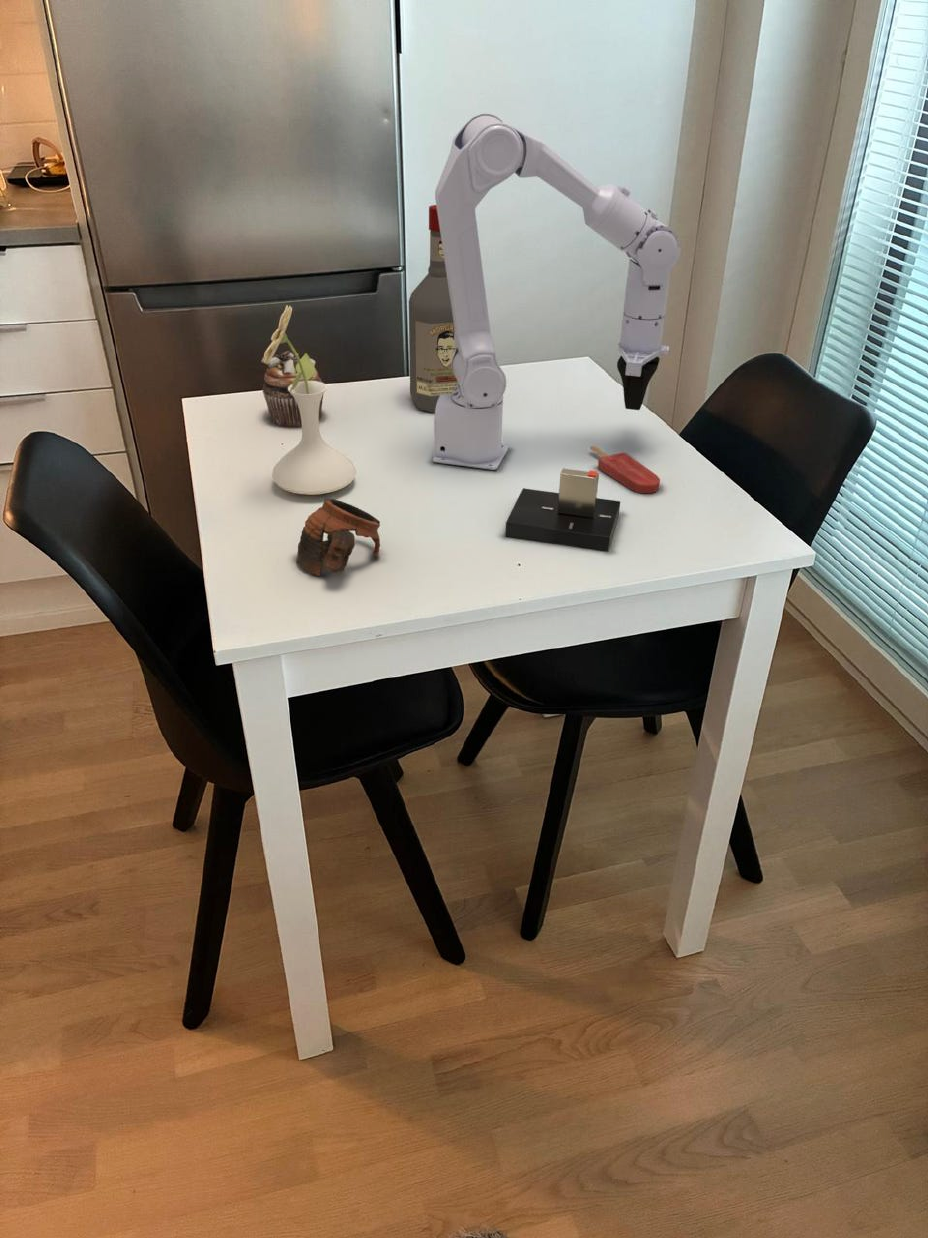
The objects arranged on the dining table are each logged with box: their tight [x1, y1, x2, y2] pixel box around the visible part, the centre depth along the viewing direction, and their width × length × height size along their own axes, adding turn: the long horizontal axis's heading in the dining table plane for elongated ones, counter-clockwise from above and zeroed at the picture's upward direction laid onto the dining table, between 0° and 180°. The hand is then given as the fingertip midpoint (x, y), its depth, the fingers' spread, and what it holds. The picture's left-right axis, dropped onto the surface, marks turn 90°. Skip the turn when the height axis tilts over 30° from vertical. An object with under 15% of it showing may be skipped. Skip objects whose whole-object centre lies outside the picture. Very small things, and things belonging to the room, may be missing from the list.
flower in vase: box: [261, 304, 357, 496], centre depth 123 cm, size 13×11×25 cm
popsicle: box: [589, 445, 661, 494], centre depth 135 cm, size 4×2×15 cm
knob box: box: [504, 487, 621, 552], centre depth 121 cm, size 13×10×2 cm
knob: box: [557, 468, 600, 518], centre depth 119 cm, size 5×2×6 cm, turn 75°
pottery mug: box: [296, 498, 381, 577], centre depth 112 cm, size 12×10×8 cm
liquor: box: [408, 204, 458, 414], centre depth 148 cm, size 9×9×30 cm
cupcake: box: [261, 349, 324, 428], centre depth 147 cm, size 10×10×10 cm
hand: (632, 407), depth 138 cm, fingers closed
